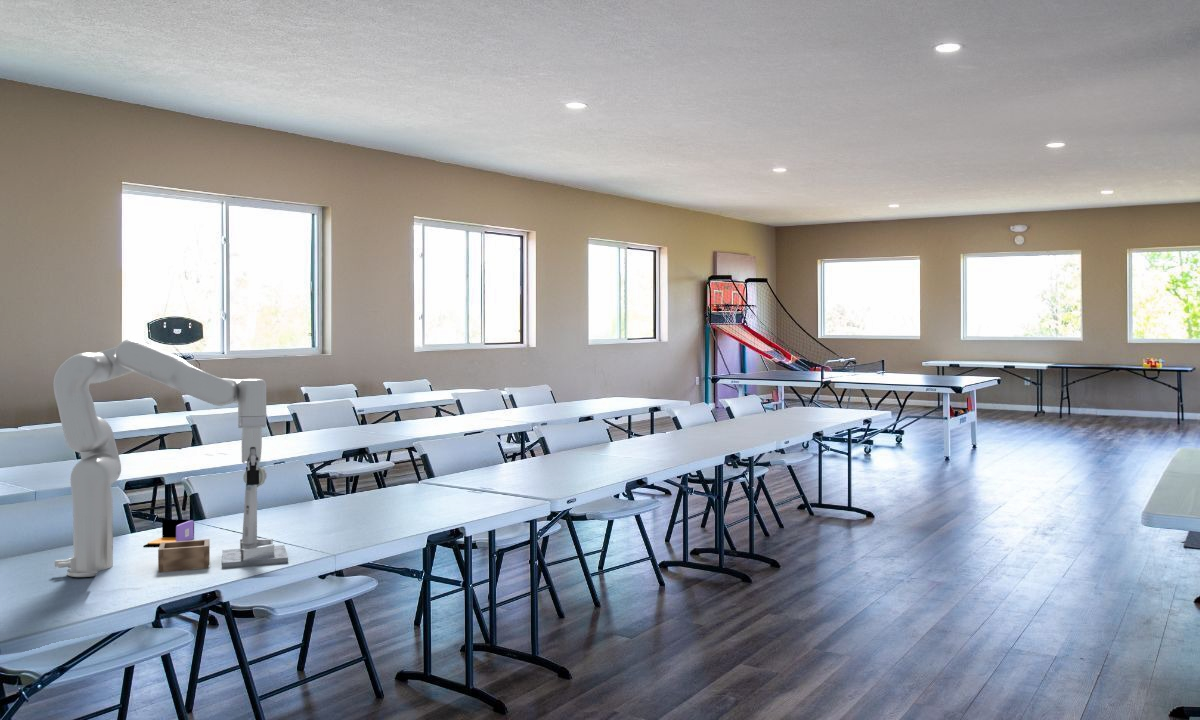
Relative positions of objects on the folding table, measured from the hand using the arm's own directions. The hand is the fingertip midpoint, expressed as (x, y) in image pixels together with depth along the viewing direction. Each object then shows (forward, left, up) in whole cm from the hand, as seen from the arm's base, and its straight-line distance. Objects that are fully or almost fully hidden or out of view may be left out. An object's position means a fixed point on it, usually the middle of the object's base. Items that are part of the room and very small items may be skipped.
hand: (252, 482), depth 257 cm
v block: (+1, 0, -22) cm, 22 cm away
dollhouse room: (-23, +34, -22) cm, 46 cm away
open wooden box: (-17, -2, -22) cm, 28 cm away
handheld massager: (0, 0, -20) cm, 21 cm away
